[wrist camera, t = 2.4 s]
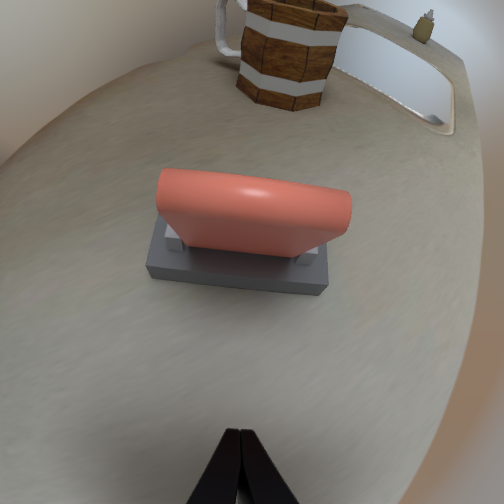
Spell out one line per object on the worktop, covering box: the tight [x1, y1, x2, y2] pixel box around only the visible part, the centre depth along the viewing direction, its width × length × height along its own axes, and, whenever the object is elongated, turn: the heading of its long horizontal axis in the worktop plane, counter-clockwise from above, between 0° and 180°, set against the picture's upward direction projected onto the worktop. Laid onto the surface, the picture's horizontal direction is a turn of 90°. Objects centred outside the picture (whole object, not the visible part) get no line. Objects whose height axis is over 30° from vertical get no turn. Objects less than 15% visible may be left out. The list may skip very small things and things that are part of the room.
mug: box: [215, 0, 349, 112], centre depth 33 cm, size 20×14×15 cm
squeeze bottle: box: [413, 10, 434, 43], centre depth 73 cm, size 8×8×18 cm
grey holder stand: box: [146, 214, 329, 295], centre depth 24 cm, size 9×14×4 cm, turn 86°
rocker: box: [156, 168, 352, 258], centre depth 17 cm, size 2×8×11 cm, turn 85°
